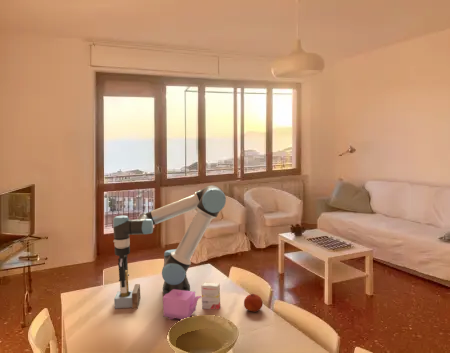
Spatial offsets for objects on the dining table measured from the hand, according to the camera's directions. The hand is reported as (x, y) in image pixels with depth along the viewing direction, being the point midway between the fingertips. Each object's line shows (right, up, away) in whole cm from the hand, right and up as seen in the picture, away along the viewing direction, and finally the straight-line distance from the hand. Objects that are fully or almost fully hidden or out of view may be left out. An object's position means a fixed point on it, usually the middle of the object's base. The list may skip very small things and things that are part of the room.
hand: (124, 290), depth 190 cm
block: (0, -7, +1) cm, 7 cm away
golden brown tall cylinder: (0, -3, 0) cm, 3 cm away
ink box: (+45, -7, -5) cm, 46 cm away
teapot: (+32, -8, -14) cm, 36 cm away
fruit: (+65, -7, -10) cm, 66 cm away
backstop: (+6, -7, +1) cm, 9 cm away
